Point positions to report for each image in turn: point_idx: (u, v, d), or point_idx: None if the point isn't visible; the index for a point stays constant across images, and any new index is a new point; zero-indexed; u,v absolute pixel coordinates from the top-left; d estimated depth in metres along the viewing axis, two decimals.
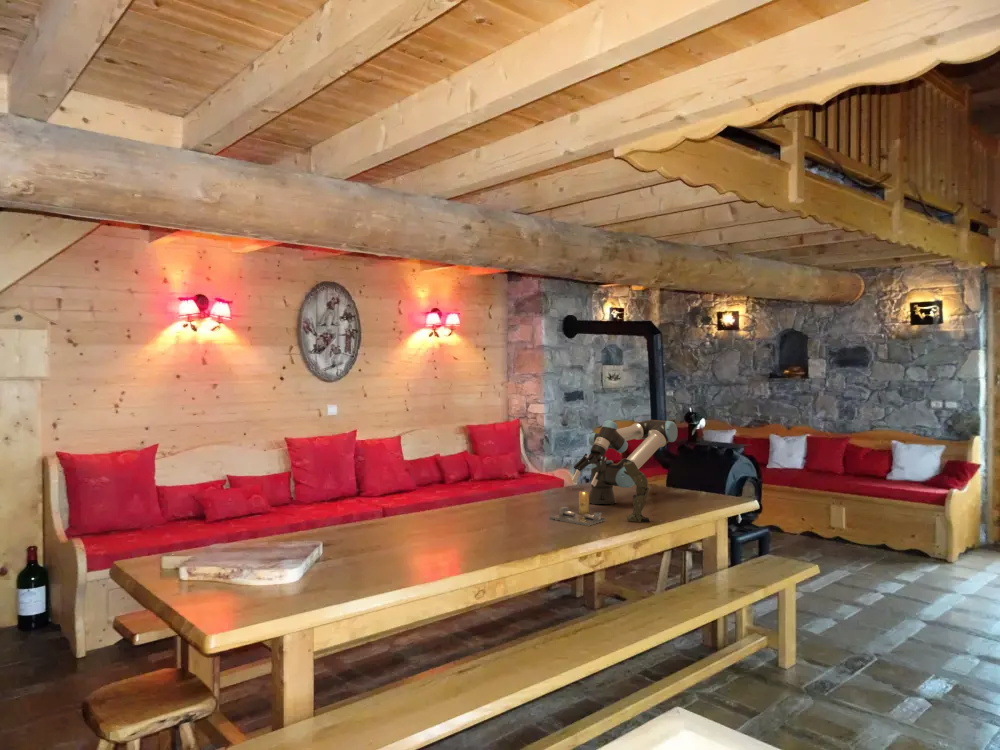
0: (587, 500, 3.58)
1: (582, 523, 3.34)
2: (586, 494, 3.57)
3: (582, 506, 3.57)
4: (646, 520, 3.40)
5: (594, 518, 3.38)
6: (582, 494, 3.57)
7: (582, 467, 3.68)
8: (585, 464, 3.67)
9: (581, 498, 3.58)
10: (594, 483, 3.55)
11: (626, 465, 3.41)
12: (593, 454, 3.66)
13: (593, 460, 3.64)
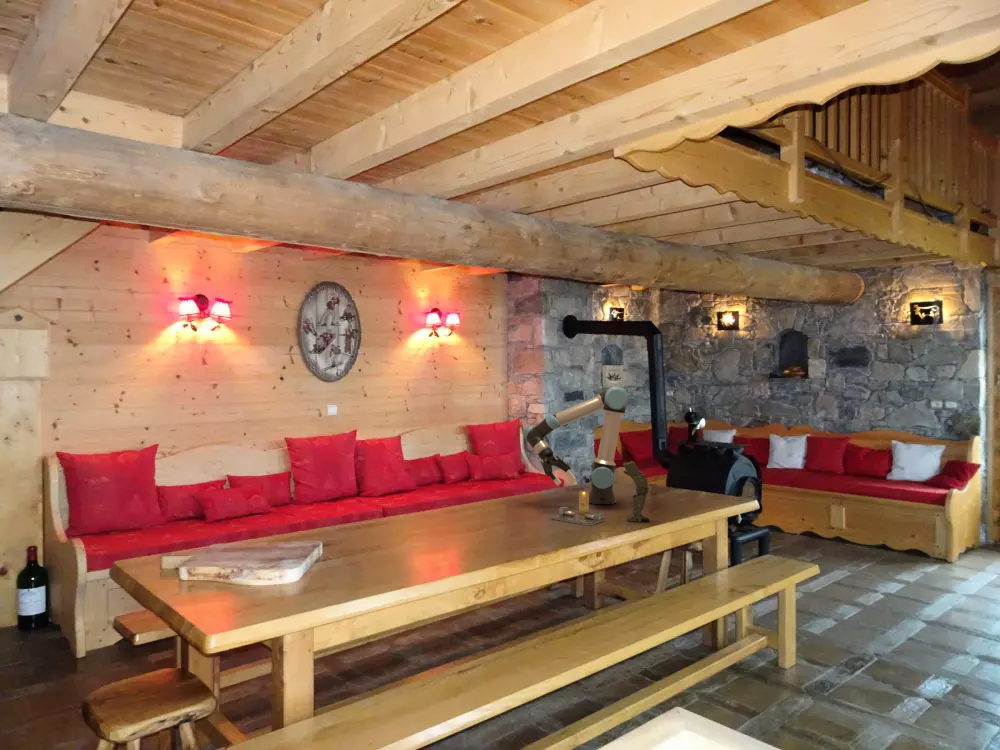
0: (587, 500, 3.58)
1: (582, 523, 3.34)
2: (586, 494, 3.57)
3: (582, 506, 3.57)
4: (646, 520, 3.40)
5: (594, 518, 3.38)
6: (582, 494, 3.57)
7: (563, 468, 3.74)
8: (559, 466, 3.74)
9: (581, 498, 3.58)
10: (557, 482, 3.61)
11: (626, 465, 3.41)
12: None
13: None
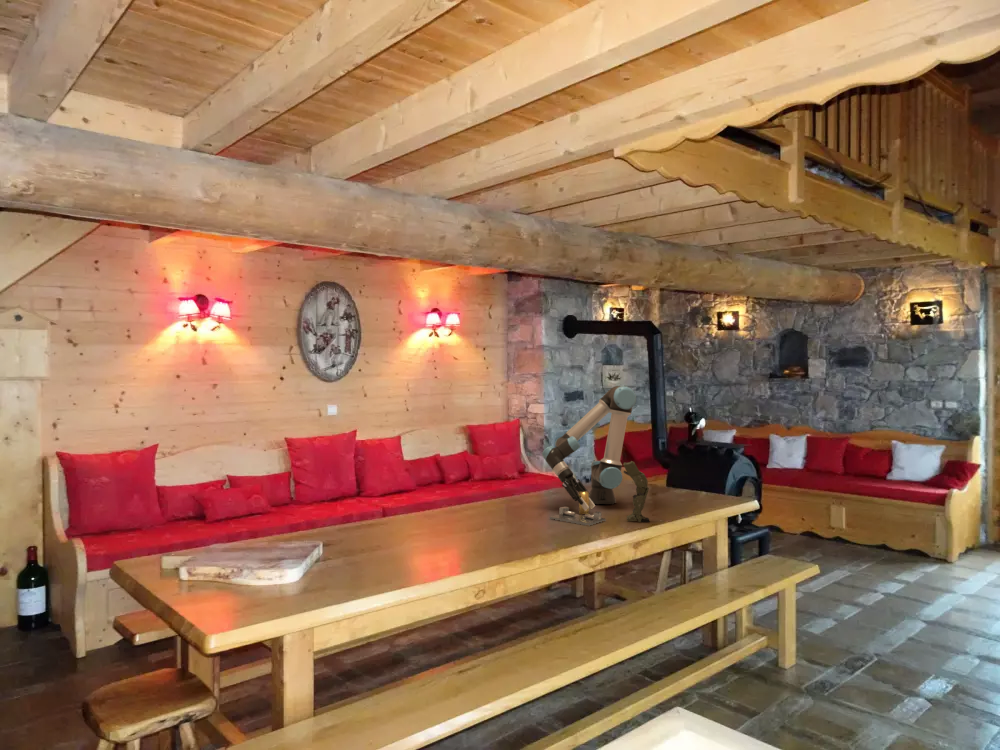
0: (587, 500, 3.58)
1: (582, 523, 3.34)
2: (586, 494, 3.57)
3: None
4: (646, 520, 3.40)
5: (594, 518, 3.38)
6: (582, 494, 3.57)
7: None
8: (578, 489, 3.64)
9: None
10: (585, 507, 3.55)
11: (626, 465, 3.41)
12: None
13: None
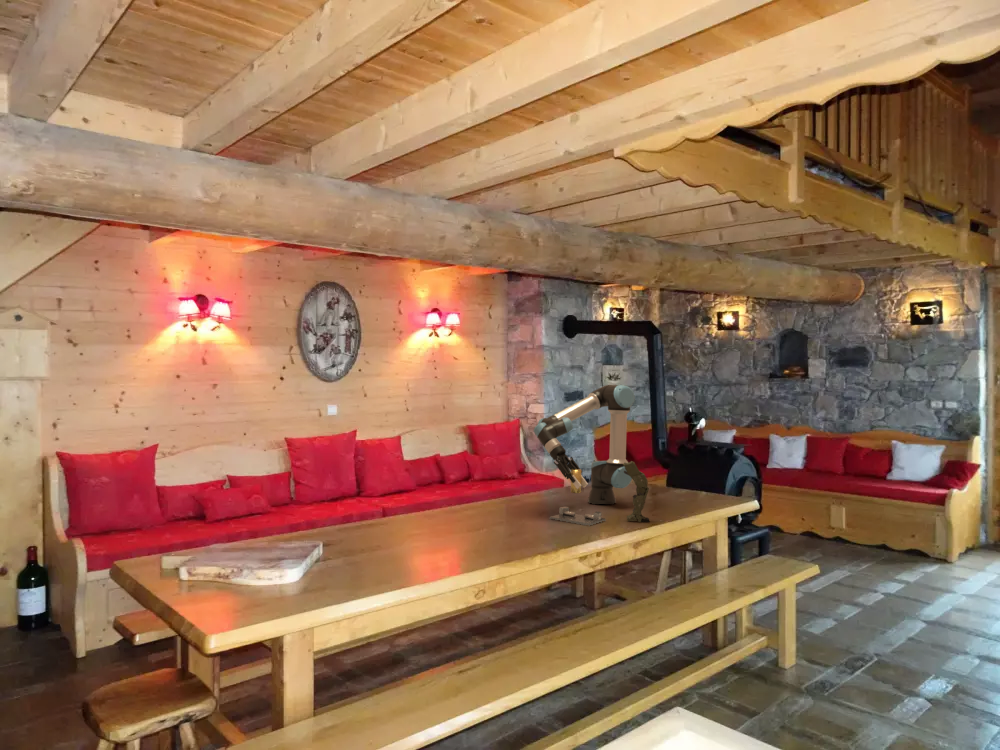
0: (579, 478, 3.42)
1: (582, 523, 3.34)
2: (578, 472, 3.42)
3: None
4: (646, 520, 3.40)
5: (594, 518, 3.38)
6: (574, 472, 3.42)
7: None
8: (570, 467, 3.49)
9: None
10: (577, 485, 3.40)
11: (626, 465, 3.41)
12: None
13: None
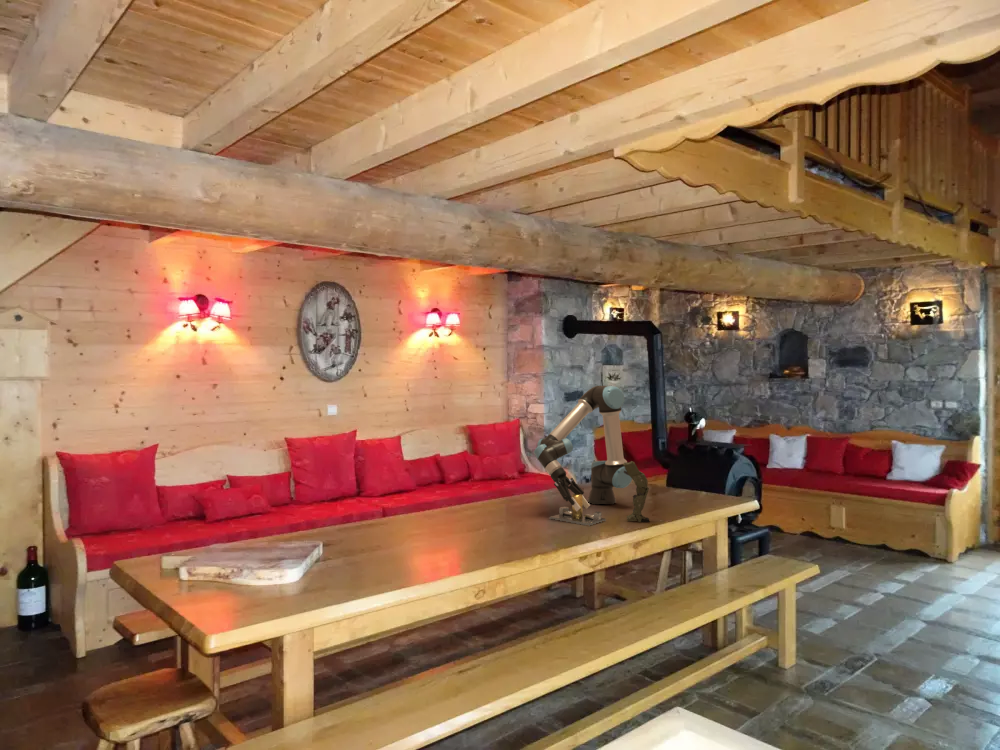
0: (581, 503, 3.42)
1: (582, 523, 3.34)
2: (579, 497, 3.41)
3: (575, 510, 3.41)
4: (646, 520, 3.40)
5: (594, 518, 3.38)
6: (575, 497, 3.41)
7: (576, 491, 3.48)
8: (572, 489, 3.49)
9: None
10: (577, 508, 3.39)
11: (626, 465, 3.41)
12: None
13: None
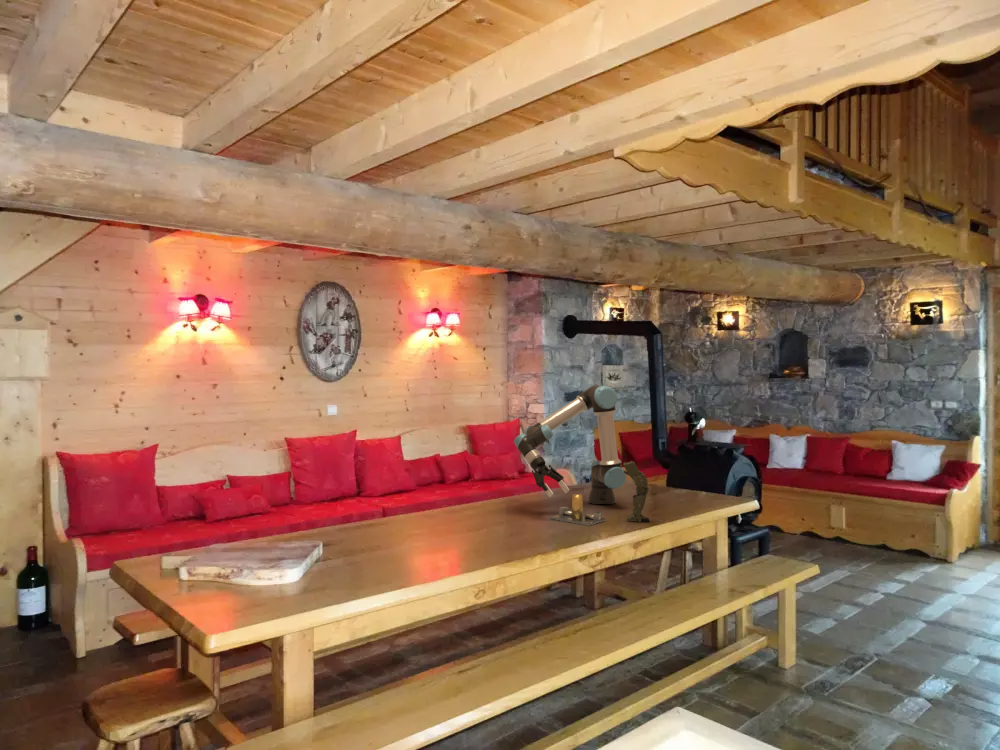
0: (581, 503, 3.42)
1: (582, 523, 3.34)
2: (579, 497, 3.42)
3: (575, 510, 3.42)
4: (646, 520, 3.40)
5: (594, 518, 3.38)
6: (575, 497, 3.42)
7: (556, 478, 3.59)
8: (552, 476, 3.59)
9: (574, 501, 3.42)
10: (550, 494, 3.46)
11: (626, 465, 3.41)
12: None
13: None
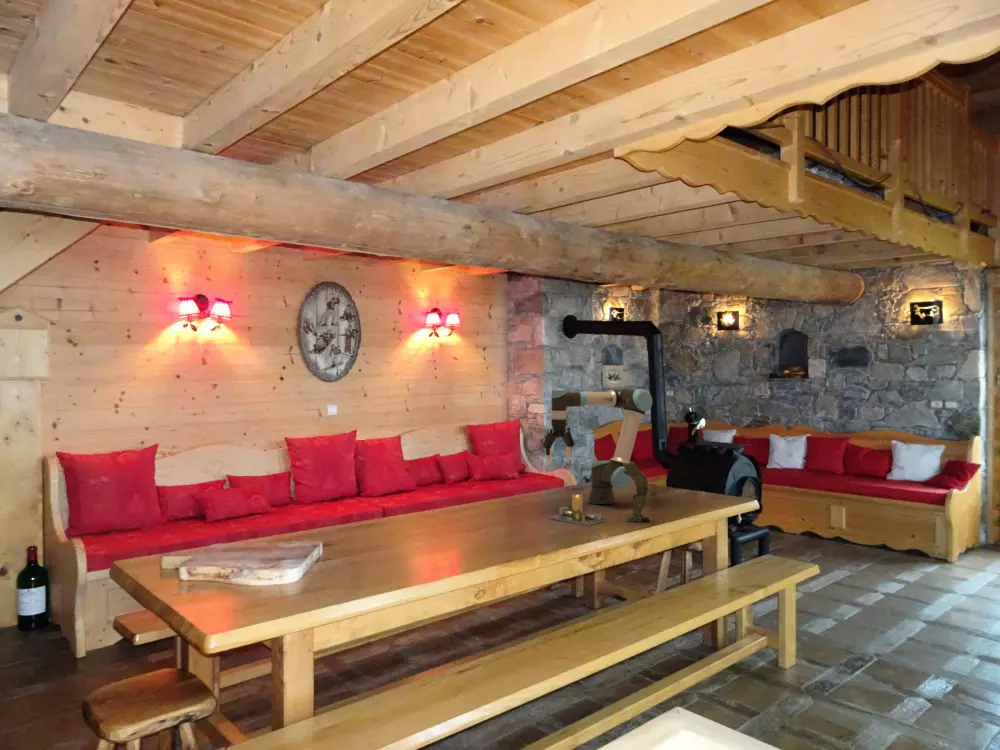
0: (581, 503, 3.42)
1: (582, 523, 3.34)
2: (579, 497, 3.42)
3: (575, 510, 3.42)
4: (646, 520, 3.40)
5: (594, 518, 3.38)
6: (575, 497, 3.42)
7: (566, 442, 3.64)
8: (564, 439, 3.63)
9: (574, 501, 3.42)
10: (548, 459, 3.56)
11: (626, 465, 3.41)
12: None
13: None
